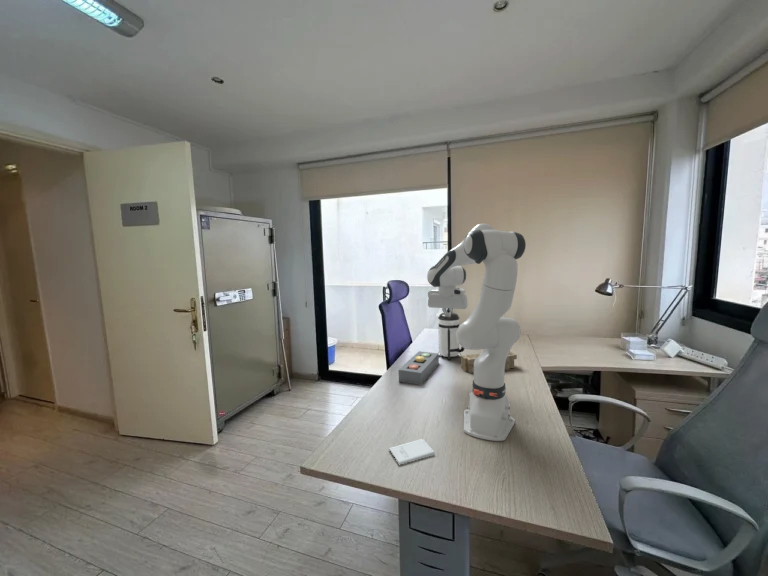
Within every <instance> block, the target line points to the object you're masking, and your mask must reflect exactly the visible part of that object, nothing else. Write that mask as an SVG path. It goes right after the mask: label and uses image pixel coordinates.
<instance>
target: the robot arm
mask: <svg viewBox="0 0 768 576" xmlns="http://www.w3.org/2000/svg"><path fill="white" fill-rule="evenodd" d="M526 245H527V242H526V239H525V237H524V236H523V234H521V233H520V232H515V231H508V230H507V231H506V230H498V229H495V228H494V227H493V226H492V225H490V224H488V223H478V224H476V226H473V228H472V229H471V230H470V231H469V232H467V234H466V235H465V237H464V239H463V240H462V241H461V242H460V243H459V244H457V245H456V246H454V247H453V248H451V249H450V250H448V251H447V252H446V253H445V254H444V255H443V256H442V257H441V258H440V259H439V261H438V262H436V264H435V265H433V266H431V267H430V268H429V269H428V271H427V278H426V279H427V282H428V283H429V285H431V286H432V287H434V288H438V289H431V290H429V291H427V297H428V300H427V306H428V308H435V309H436V308H437V309H441V311H442V313H444V317H450V316H451V313H453V309H455V310H457V309H459V310H465V309H467V308H468V305H469V303H468V298H467V295H466V294H465V293H466V289H464V288H462V287H458V286H461V285H463V284H464V283H465V281H466V279H467V271H466V269H465V268H464V267H463V266H465V265H473V264H477V265H479V264H481V263H482V262H483V264H484V267H485V270H484V274H483V275H484V276H483V279H482V283H481V288H480V294H479V299H478V301H477V304H476V305H475V308H474V309H473V311H472V313H471V314H470V315H469V316H468V318H467V319H466V320H465V321H463V322H462V323H460V324H459V327H458V330H457V339H458V342H459V346H461V347H463V348H464V350H473V351H480V350H482V352H480V353H479V354H480V355H479V356H478V357H477V358H476V359H475V361H474V372H473V380H472V385H471V388H472V391H471V392H469V393H468V394H469V395H468V396H469V405H467V408H466V409H464V410H463V432H464V433H465V434H467V435H469V436H471V437H474V438H477V439H482V440H485V441H486V440H487V441H495V442H502V441H505V440H506V439H507V437H508V436H509V434H510V433H511V432H510V431H511V430H512V428H513V427H514V425H515V423H516V419H515V418H514V417H512V416H511V409H510V408H511V405H510V402H511V401H510V399H509V398H508V396H507V395H506V389H507V387H506V382H505V362H506V359H507V356H508V354H509V351H510V352H511V350H512V348H513V346H514V345H515V344H516V343H517V342H518V340H519V339H520V337H521V334H522V331H521V330H522V329H521V326H520V324H519V322H518V321H517V320H516V319H515V318H513V317H506V316H503V315H505V314H506V313H507V312H509V311H510V309H511V307H512V304H513V299H514V295H515V291H516V287H517V282H518V281H517V279H518V267H519V266H518V265H519V264H518V259H520V258H522V256H523V255H524V253H525V250H526ZM447 309H449V310H450V312H449V313H446V312H447Z"/></svg>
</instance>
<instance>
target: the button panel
mask: <svg viewBox="0 0 768 576" xmlns="http://www.w3.org/2000/svg"><path fill="white" fill-rule="evenodd" d="M423 353H428V354H430V357H429V358H428V357H424V362H421V363H419V362H416V360H415V357H417V356H421V354H423ZM439 355H440V352H439V353H438V352H429V351H419V350H418V352H417V353H416V354H414V355H413V356H412V357H411V358H410V359H409V360H408V361H407V362H406V363H404V364H403V365H402V366H401V367H400V368H399V369H398V382H401V381H402V383H410V384H415V385H420V384H421V385H422V384H423V383H424V382H425V381H426V380H427V378H428V377H429V376H430V375H431V373H432V372H433V371H434V370H435V368H437V366H438V365H439V364H440V362H439V361H440V360H439V359H440V358H439V357H440V356H439ZM409 365H418V370H414V369H409Z"/></svg>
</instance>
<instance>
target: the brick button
mask: <svg viewBox="0 0 768 576" xmlns="http://www.w3.org/2000/svg"><path fill="white" fill-rule="evenodd" d="M409 369H414V370H418V369H419V368H418V365H409Z"/></svg>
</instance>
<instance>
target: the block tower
mask: <svg viewBox="0 0 768 576" xmlns="http://www.w3.org/2000/svg"><path fill="white" fill-rule="evenodd" d="M480 354H481V353H479V354H478V353H476V354H465V355H464V354H461V355H460V356H461V357H460V368H461V370H463V371H464V372H468V374H471V373H473V374H474V361H475V359H476V358H477V357H478V356H479V355H480ZM517 359H518V356H517V354H516V353H514V352H513V351H511V350H510V351H509V354H508V356H507V359H506V362H505V369H506V370H510V369H509V368H514V369H515V360H517Z"/></svg>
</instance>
